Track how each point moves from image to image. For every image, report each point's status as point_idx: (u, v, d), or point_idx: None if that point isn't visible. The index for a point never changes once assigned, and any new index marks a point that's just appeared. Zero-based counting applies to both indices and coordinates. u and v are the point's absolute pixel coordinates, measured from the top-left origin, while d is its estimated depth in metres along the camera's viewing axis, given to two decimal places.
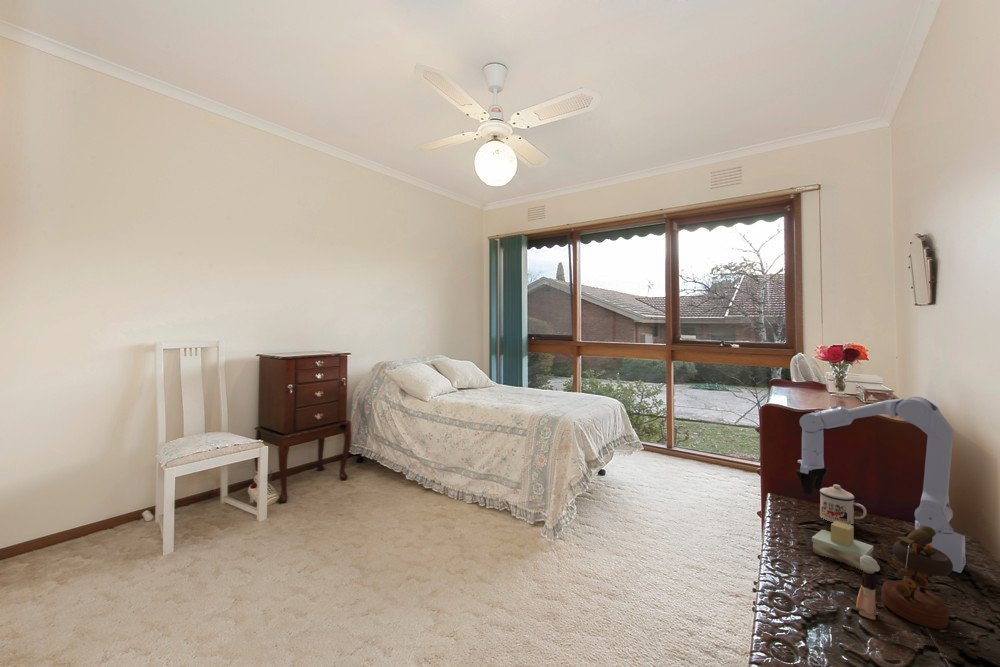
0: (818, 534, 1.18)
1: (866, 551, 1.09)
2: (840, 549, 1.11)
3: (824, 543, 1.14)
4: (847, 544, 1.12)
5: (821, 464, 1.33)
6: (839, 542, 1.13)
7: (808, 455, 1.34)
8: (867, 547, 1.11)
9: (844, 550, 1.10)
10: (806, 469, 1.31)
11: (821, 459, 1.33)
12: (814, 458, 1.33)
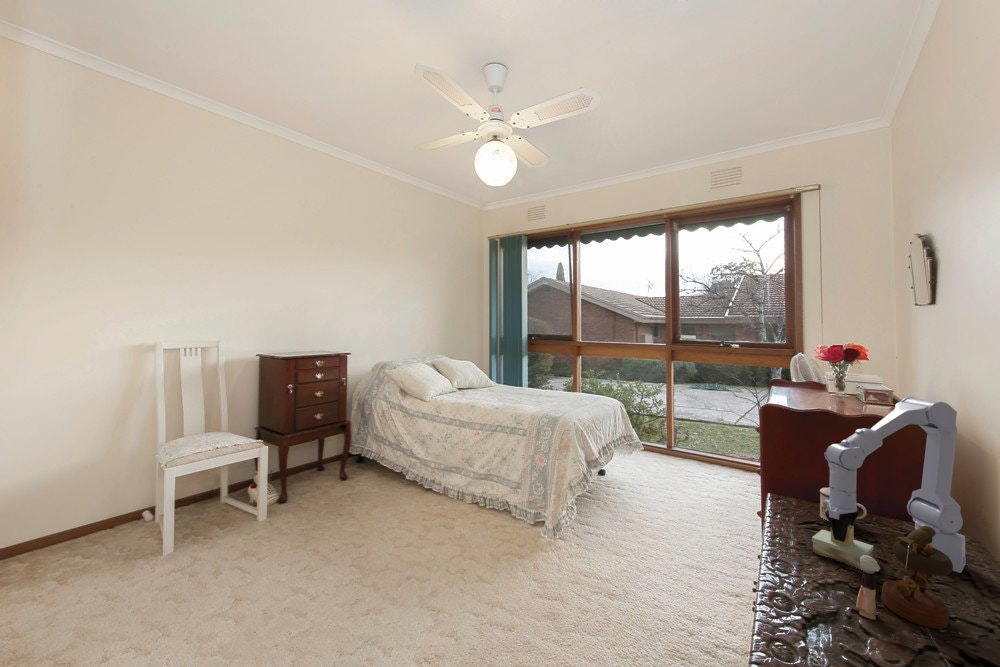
0: (818, 534, 1.18)
1: (866, 551, 1.09)
2: (840, 549, 1.11)
3: (824, 543, 1.14)
4: (847, 544, 1.12)
5: (854, 507, 1.11)
6: (839, 542, 1.13)
7: (838, 495, 1.13)
8: (867, 547, 1.11)
9: (844, 550, 1.10)
10: (836, 514, 1.09)
11: (854, 501, 1.11)
12: (846, 500, 1.12)
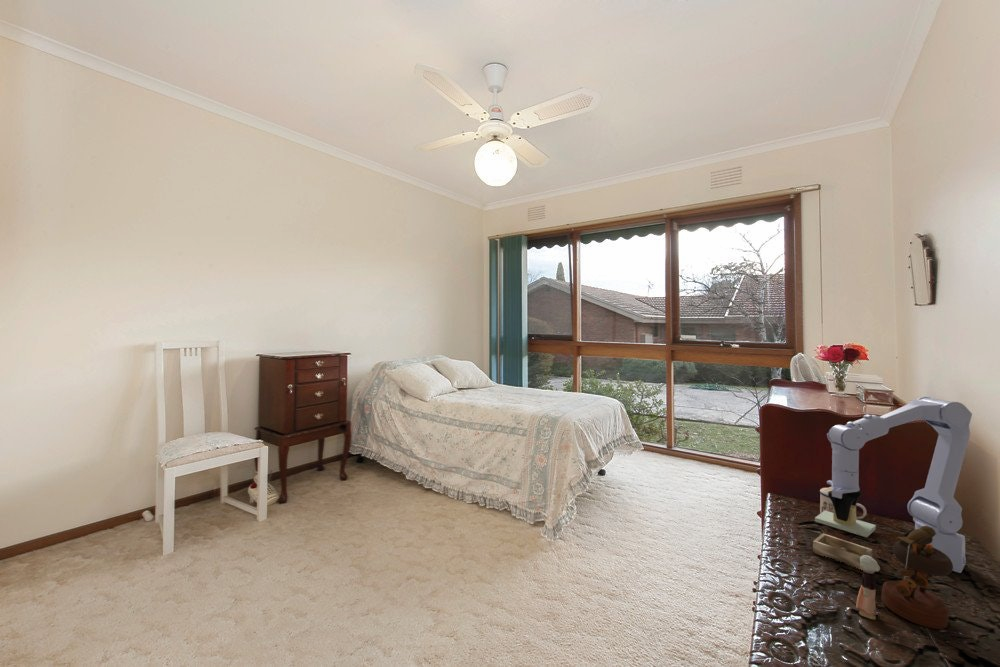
0: (821, 515, 1.19)
1: (869, 530, 1.10)
2: (843, 528, 1.12)
3: (827, 523, 1.15)
4: (850, 523, 1.13)
5: (856, 487, 1.13)
6: (842, 522, 1.14)
7: (841, 475, 1.14)
8: (869, 526, 1.12)
9: (847, 529, 1.11)
10: (839, 493, 1.10)
11: (856, 481, 1.13)
12: (848, 479, 1.13)
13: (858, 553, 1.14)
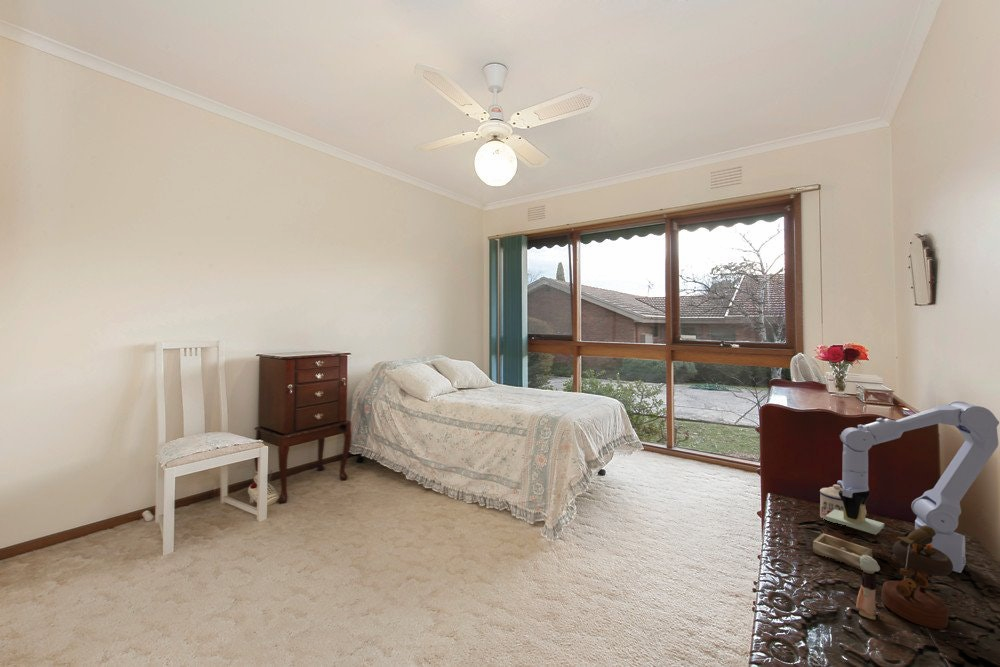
0: (831, 513, 1.24)
1: (877, 528, 1.15)
2: (853, 526, 1.18)
3: (837, 521, 1.20)
4: (859, 521, 1.18)
5: (866, 486, 1.18)
6: (851, 520, 1.19)
7: (851, 476, 1.19)
8: (878, 524, 1.17)
9: (856, 527, 1.17)
10: (850, 492, 1.16)
11: (866, 481, 1.18)
12: (858, 479, 1.18)
13: (858, 553, 1.14)
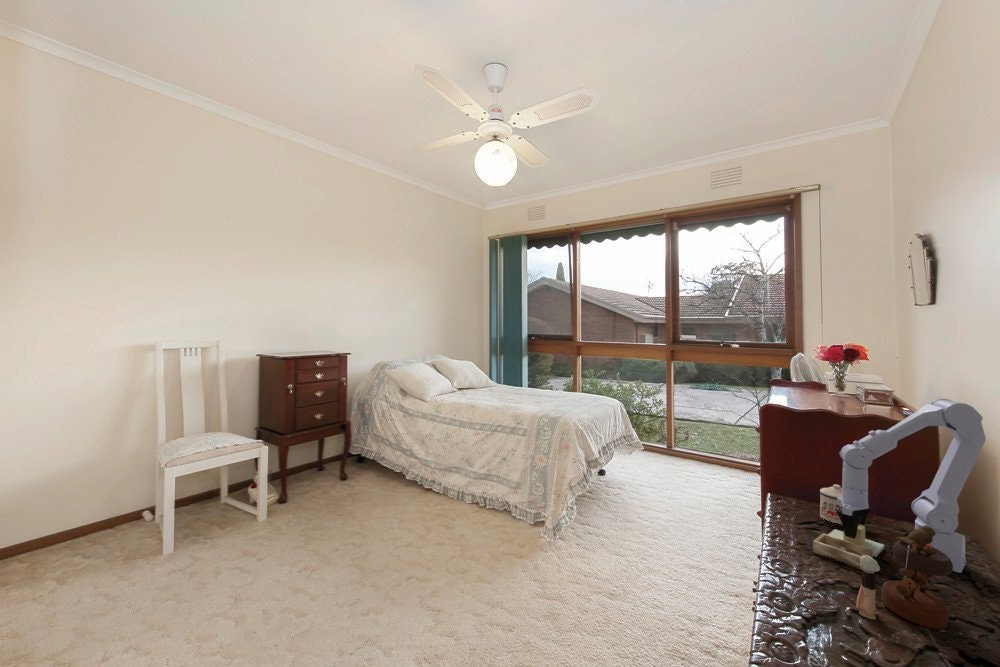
0: (831, 533, 1.24)
1: (877, 550, 1.15)
2: None
3: None
4: (859, 543, 1.18)
5: (865, 504, 1.18)
6: (851, 541, 1.19)
7: (851, 493, 1.19)
8: (878, 546, 1.17)
9: None
10: (849, 510, 1.16)
11: (865, 498, 1.18)
12: (858, 497, 1.18)
13: (858, 553, 1.14)
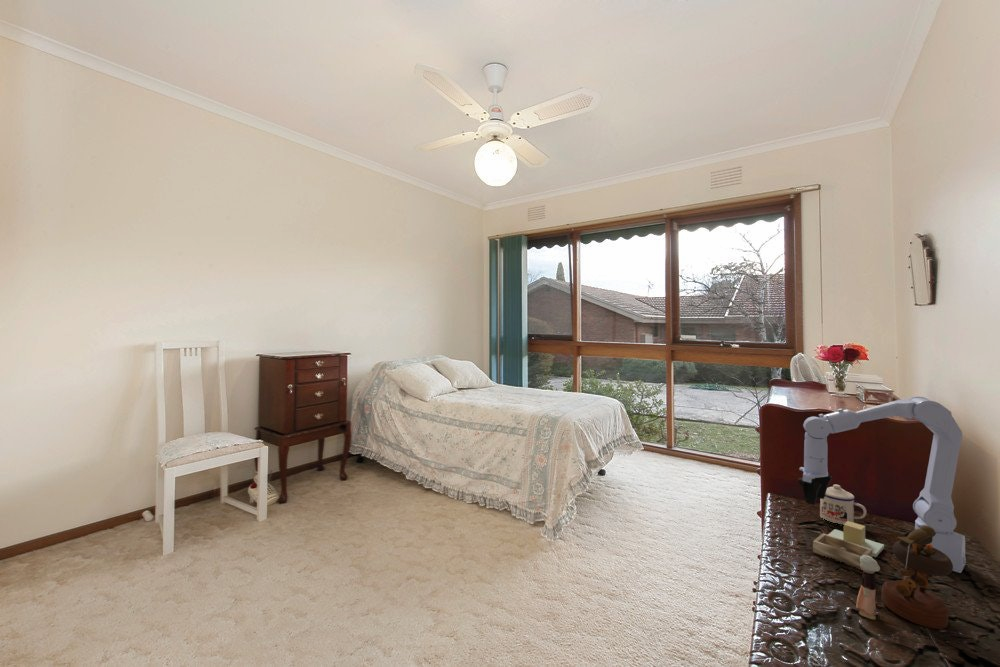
0: (831, 534, 1.24)
1: (877, 550, 1.15)
2: None
3: None
4: (859, 543, 1.18)
5: (825, 472, 1.24)
6: (851, 541, 1.19)
7: (811, 462, 1.25)
8: (878, 546, 1.17)
9: None
10: (809, 478, 1.22)
11: (825, 467, 1.24)
12: (818, 465, 1.24)
13: (858, 553, 1.14)
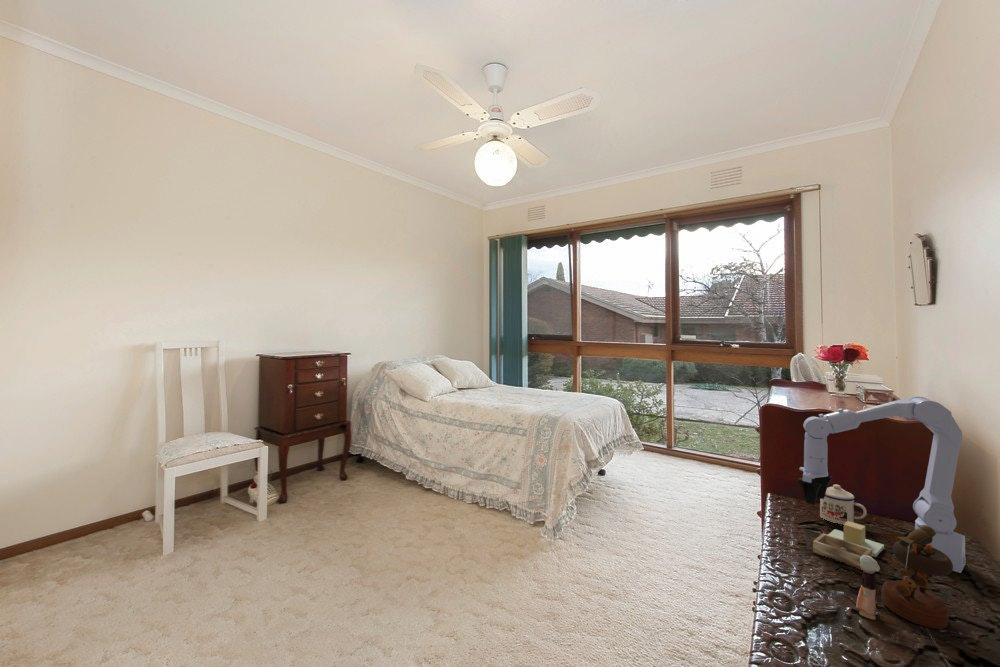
0: (831, 533, 1.24)
1: (877, 550, 1.15)
2: None
3: None
4: (859, 543, 1.18)
5: (825, 472, 1.24)
6: (851, 541, 1.19)
7: (811, 462, 1.25)
8: (878, 546, 1.18)
9: None
10: (809, 478, 1.22)
11: (825, 467, 1.24)
12: (818, 465, 1.24)
13: (858, 553, 1.14)
